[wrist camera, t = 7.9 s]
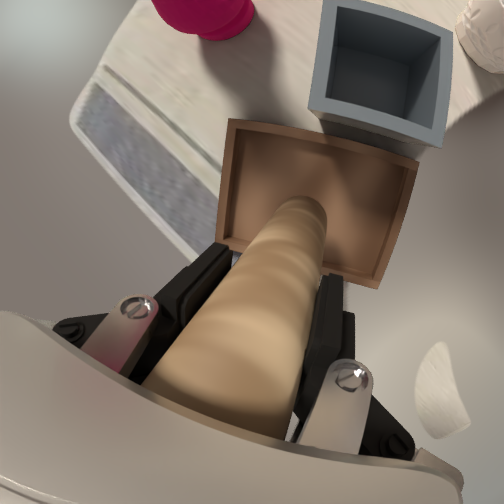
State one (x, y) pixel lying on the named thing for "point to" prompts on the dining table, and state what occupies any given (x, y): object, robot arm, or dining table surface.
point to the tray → (316, 193)
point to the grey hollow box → (382, 72)
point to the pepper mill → (207, 16)
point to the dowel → (252, 328)
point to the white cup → (483, 33)
